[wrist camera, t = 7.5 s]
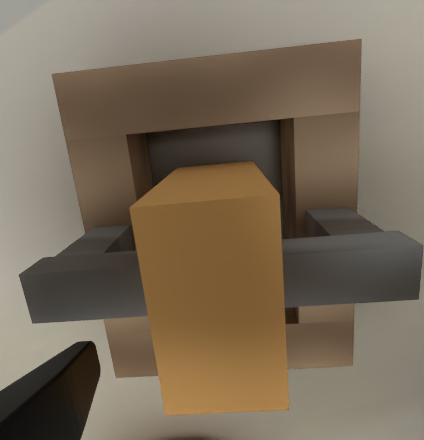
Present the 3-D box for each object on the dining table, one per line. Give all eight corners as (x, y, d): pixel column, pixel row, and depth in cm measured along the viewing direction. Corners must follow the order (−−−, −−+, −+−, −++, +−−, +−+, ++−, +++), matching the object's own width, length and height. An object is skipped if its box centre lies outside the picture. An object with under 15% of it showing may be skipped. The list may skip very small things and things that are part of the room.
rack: (331, 325, 22) (404, 462, 13) (133, 336, 23) (74, 472, 14) (332, 57, 18) (445, -17, 9) (87, 85, 19) (-47, 43, 10)
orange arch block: (259, 280, 19) (289, 409, 10) (192, 285, 19) (165, 415, 11) (252, 160, 17) (279, 194, 8) (177, 167, 17) (129, 207, 9)
